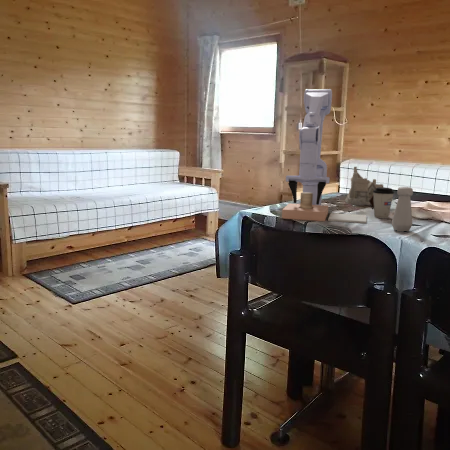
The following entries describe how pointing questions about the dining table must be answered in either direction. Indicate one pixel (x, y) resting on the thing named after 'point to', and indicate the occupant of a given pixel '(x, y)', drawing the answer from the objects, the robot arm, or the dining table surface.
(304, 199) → the plug
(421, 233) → the dining table surface
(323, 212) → the square board with hole
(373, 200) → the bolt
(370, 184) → the ceramic cottage
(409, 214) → the salt shaker
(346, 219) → the mat
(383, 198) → the coffee cup
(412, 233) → the dining table surface
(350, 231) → the dining table surface
